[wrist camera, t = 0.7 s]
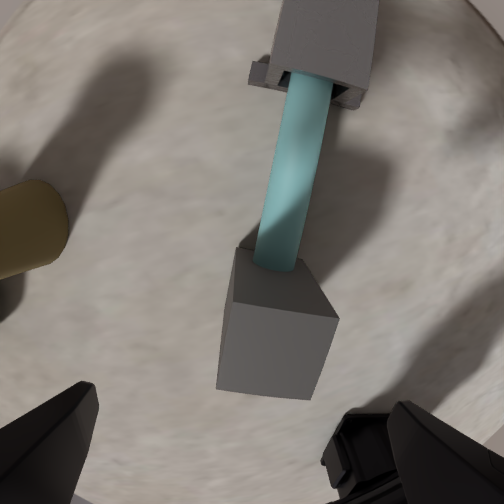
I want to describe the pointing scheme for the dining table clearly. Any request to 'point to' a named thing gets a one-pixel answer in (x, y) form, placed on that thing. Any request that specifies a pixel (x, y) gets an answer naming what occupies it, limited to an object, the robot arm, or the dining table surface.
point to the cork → (30, 227)
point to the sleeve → (322, 47)
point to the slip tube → (281, 269)
